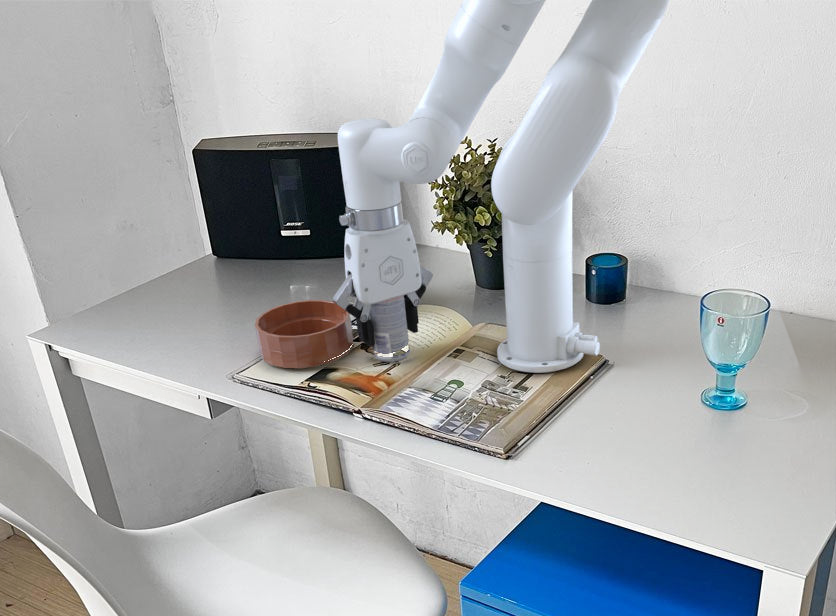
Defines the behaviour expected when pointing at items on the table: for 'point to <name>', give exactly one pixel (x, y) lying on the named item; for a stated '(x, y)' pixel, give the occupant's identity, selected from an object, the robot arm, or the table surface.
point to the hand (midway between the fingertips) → (389, 335)
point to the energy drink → (389, 328)
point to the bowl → (304, 334)
